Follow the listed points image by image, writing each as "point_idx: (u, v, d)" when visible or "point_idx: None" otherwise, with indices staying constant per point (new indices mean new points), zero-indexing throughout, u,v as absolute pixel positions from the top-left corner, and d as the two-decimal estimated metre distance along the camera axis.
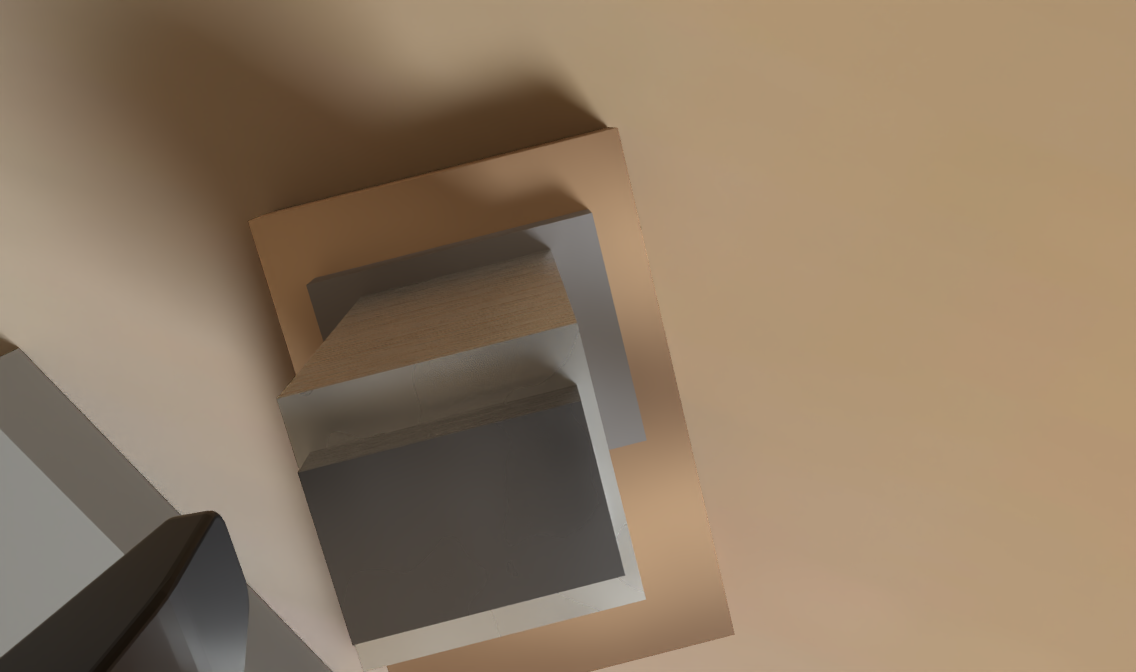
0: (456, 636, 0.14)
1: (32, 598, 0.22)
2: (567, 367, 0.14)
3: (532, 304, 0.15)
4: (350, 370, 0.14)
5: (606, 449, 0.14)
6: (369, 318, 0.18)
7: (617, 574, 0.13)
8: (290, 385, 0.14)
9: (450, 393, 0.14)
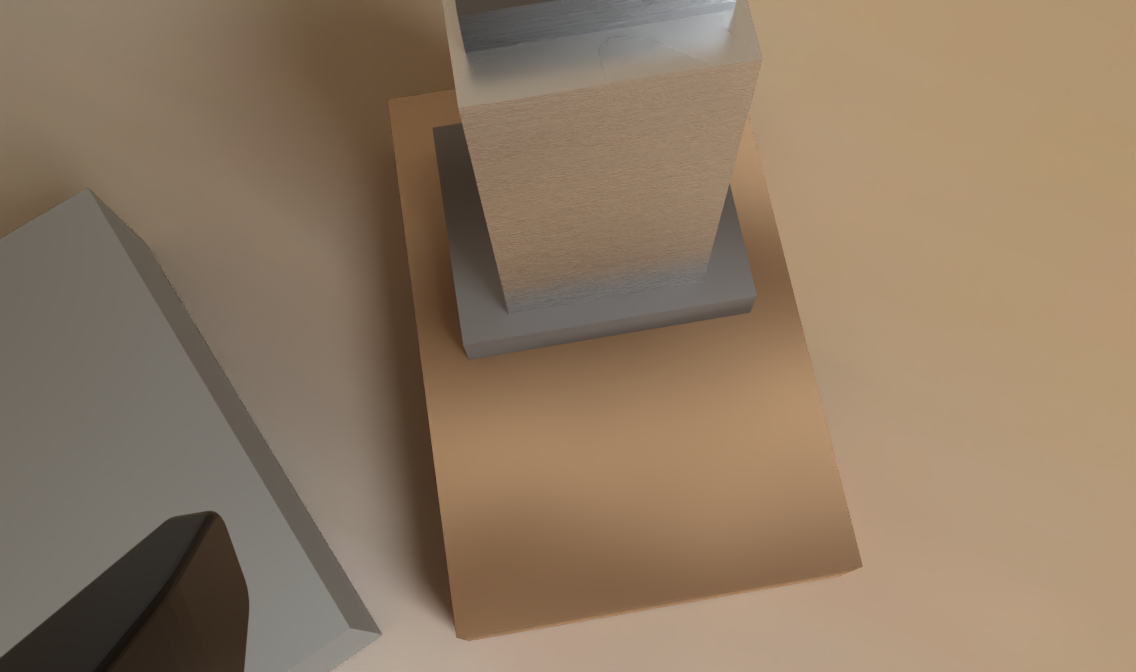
0: (559, 80, 0.13)
1: (88, 410, 0.21)
2: None
3: None
4: None
5: None
6: None
7: None
8: None
9: None
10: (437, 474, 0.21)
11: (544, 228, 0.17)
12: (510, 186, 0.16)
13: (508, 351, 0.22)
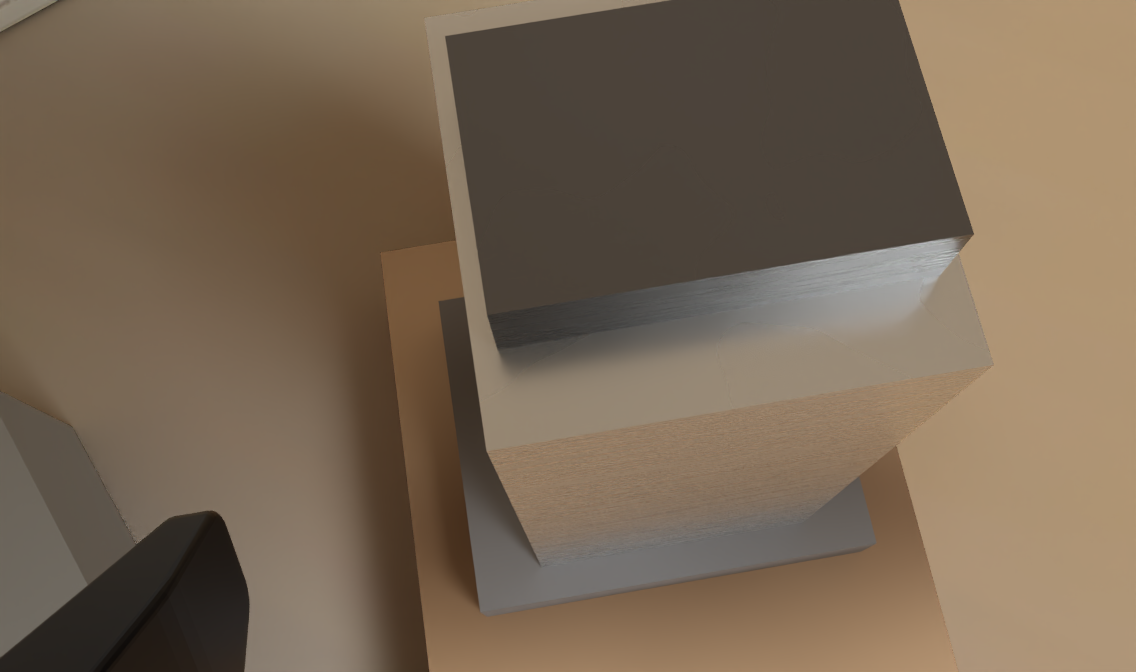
0: (655, 401, 0.08)
1: None
2: None
3: None
4: None
5: None
6: None
7: (959, 230, 0.08)
8: None
9: None
10: None
11: (602, 515, 0.12)
12: (560, 496, 0.10)
13: (539, 606, 0.16)
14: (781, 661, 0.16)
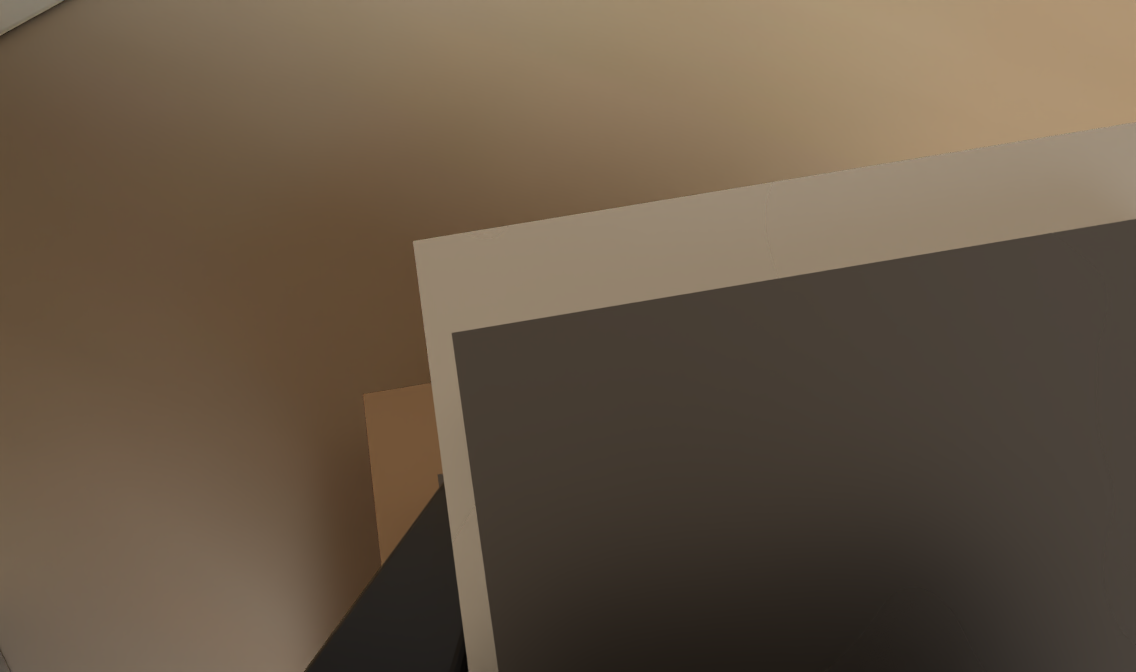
0: None
1: None
2: None
3: None
4: None
5: None
6: None
7: None
8: None
9: (863, 258, 0.05)
10: None
11: None
12: None
13: None
14: None
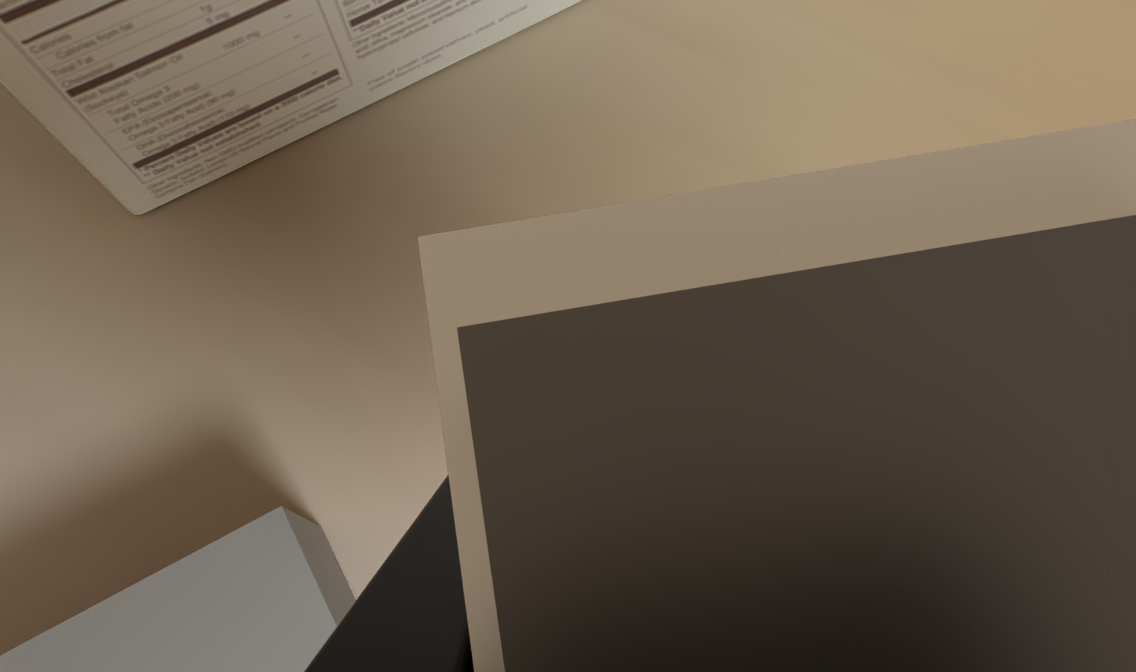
0: None
1: None
2: None
3: None
4: None
5: None
6: None
7: None
8: None
9: (867, 254, 0.05)
10: None
11: None
12: None
13: None
14: None
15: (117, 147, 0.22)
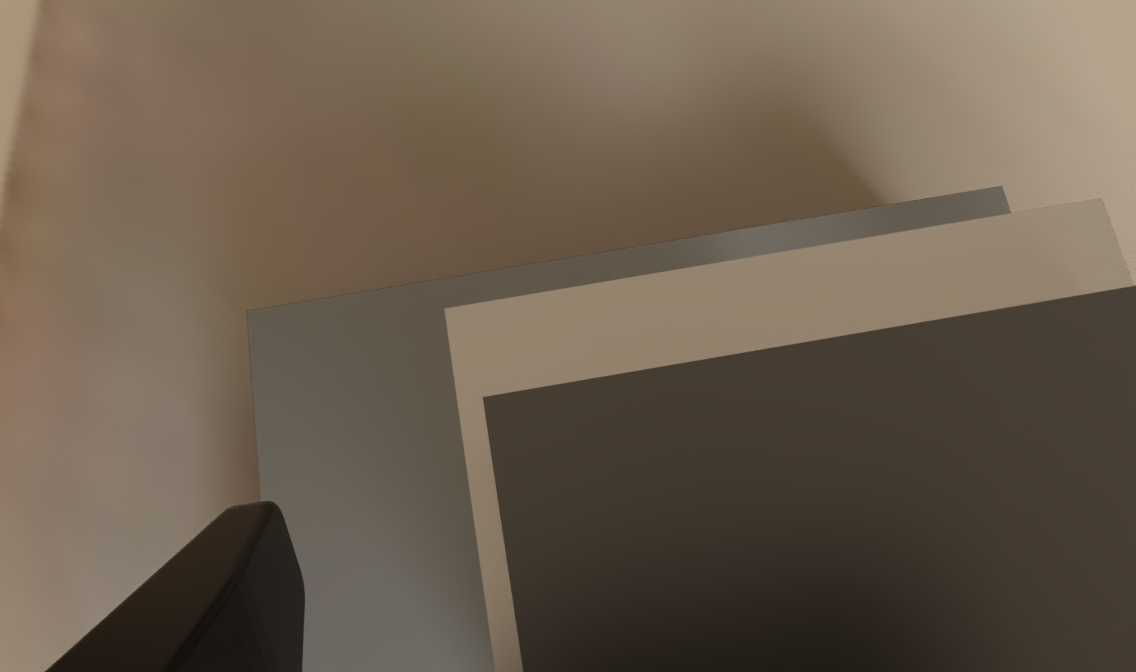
0: None
1: None
2: (1089, 287, 0.06)
3: None
4: None
5: None
6: None
7: None
8: None
9: (825, 324, 0.06)
10: None
11: None
12: None
13: None
14: None
15: None
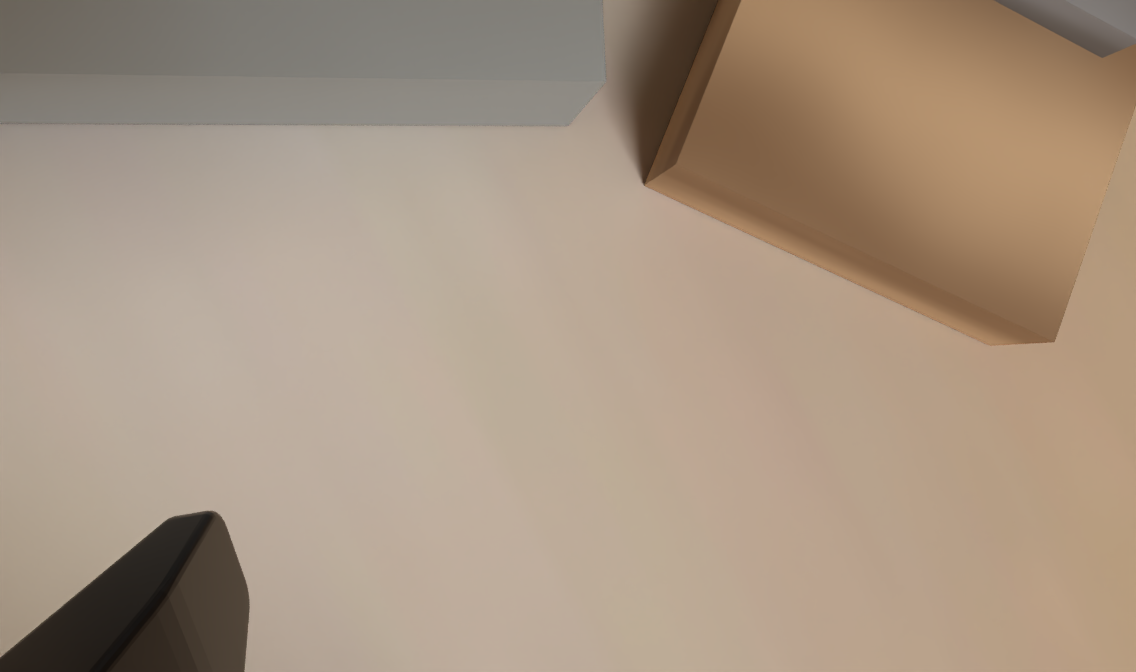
0: None
1: None
2: None
3: None
4: None
5: None
6: None
7: None
8: None
9: None
10: (742, 2, 0.18)
11: None
12: None
13: None
14: (1008, 87, 0.19)
15: None
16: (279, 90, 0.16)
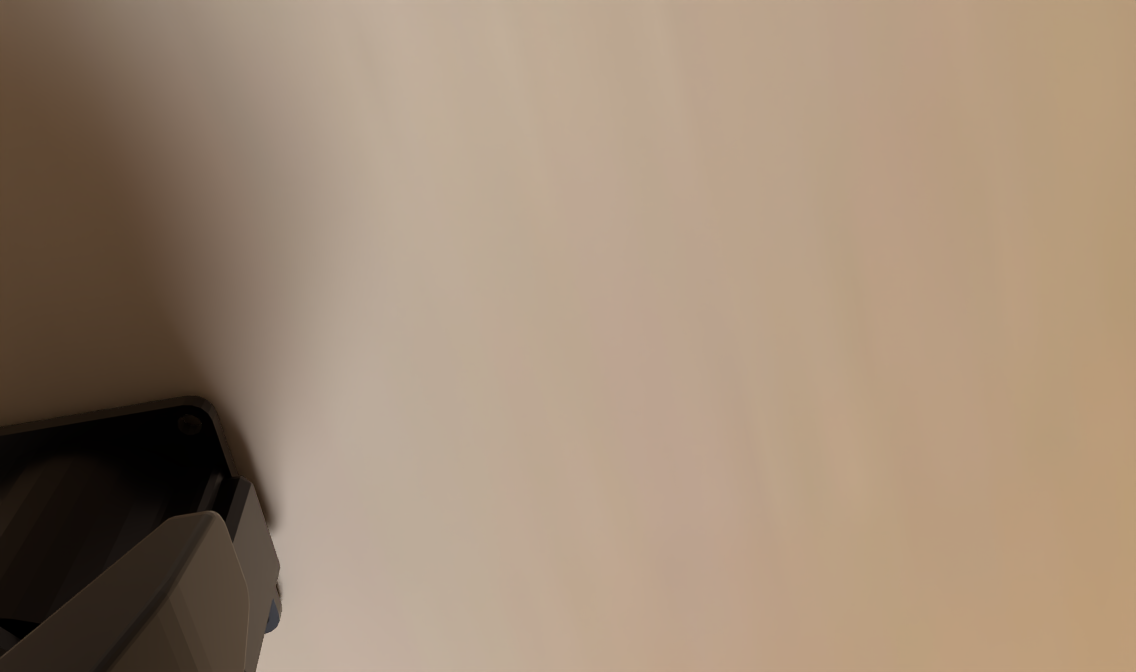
0: None
1: None
2: None
3: None
4: None
5: None
6: None
7: None
8: None
9: None
10: None
11: None
12: None
13: None
14: None
15: None
16: None
